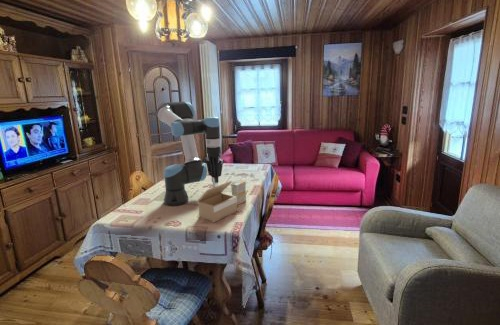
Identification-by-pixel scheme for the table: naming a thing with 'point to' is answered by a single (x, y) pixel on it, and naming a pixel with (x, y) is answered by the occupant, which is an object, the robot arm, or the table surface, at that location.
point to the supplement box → (239, 191)
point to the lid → (214, 191)
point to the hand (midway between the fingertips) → (215, 188)
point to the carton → (217, 207)
